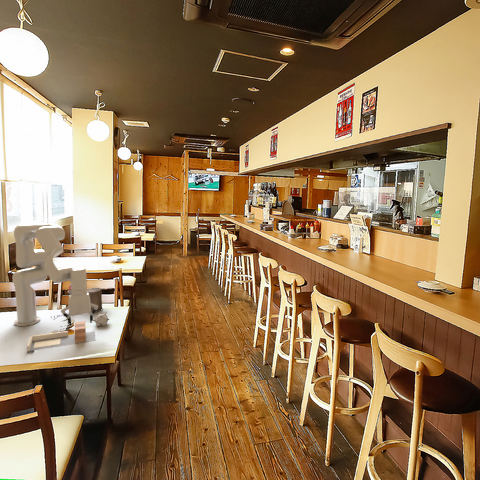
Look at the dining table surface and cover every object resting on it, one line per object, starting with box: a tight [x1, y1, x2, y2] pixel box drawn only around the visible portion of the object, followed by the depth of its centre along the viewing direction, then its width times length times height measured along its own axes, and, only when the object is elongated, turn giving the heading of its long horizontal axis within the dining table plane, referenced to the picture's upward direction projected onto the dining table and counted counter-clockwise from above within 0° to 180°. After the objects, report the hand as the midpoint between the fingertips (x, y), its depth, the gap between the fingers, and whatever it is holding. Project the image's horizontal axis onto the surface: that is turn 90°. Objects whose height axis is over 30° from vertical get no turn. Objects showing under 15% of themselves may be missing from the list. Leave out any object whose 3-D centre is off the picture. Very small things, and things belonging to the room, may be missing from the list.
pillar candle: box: [87, 287, 103, 312], centre depth 212 cm, size 10×10×15 cm
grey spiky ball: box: [92, 312, 111, 327], centre depth 187 cm, size 9×8×10 cm
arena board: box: [26, 330, 97, 354], centre depth 167 cm, size 12×30×4 cm, turn 116°
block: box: [74, 320, 87, 344], centre depth 170 cm, size 10×5×7 cm, turn 26°
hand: (80, 323), depth 169 cm, fingers open, 9 cm apart
